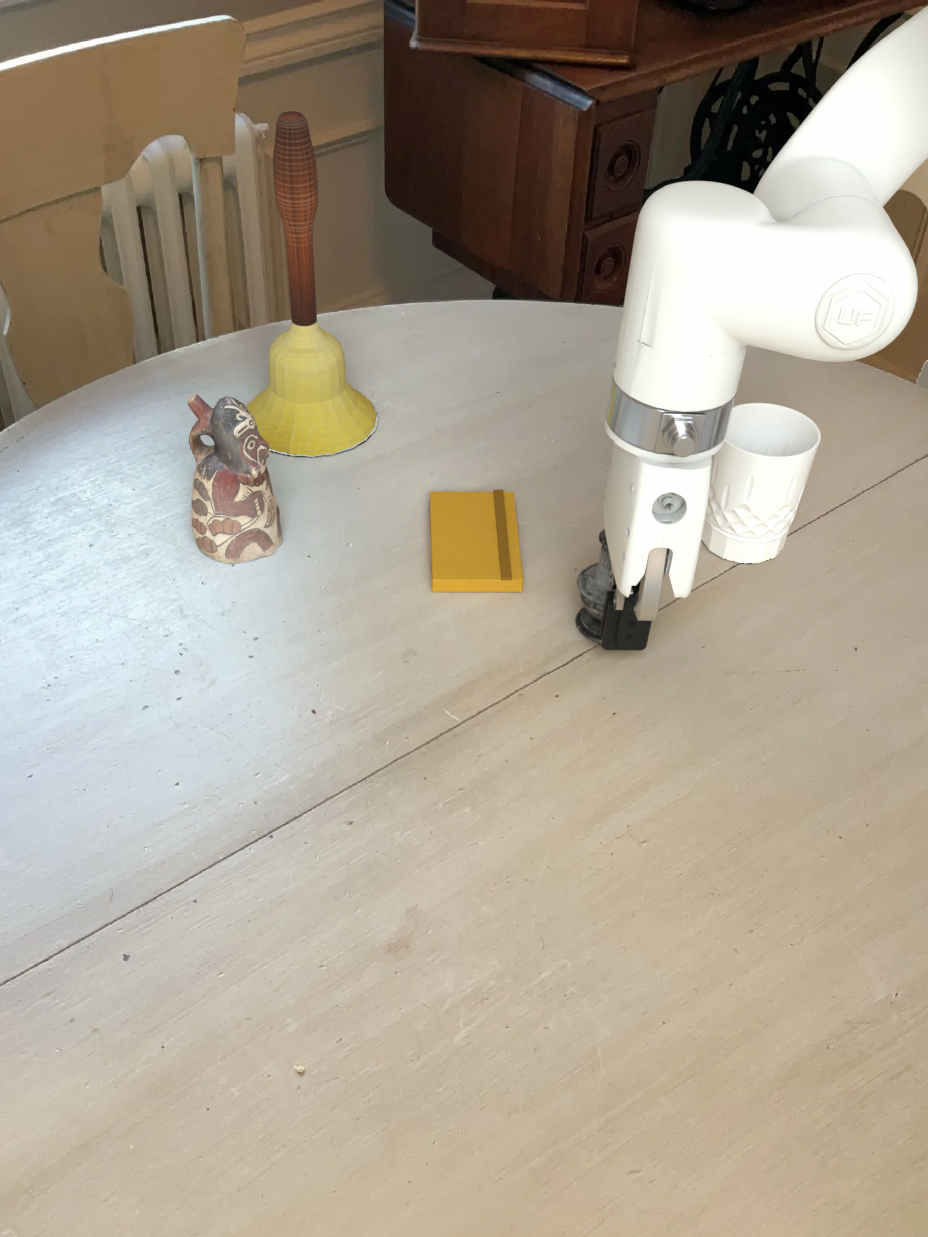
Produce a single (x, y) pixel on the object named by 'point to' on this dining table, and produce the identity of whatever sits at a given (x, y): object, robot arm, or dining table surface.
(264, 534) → the figurine
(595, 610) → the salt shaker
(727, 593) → the dining table surface
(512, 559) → the yellow strapped notebook
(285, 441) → the handbell
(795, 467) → the white cup
